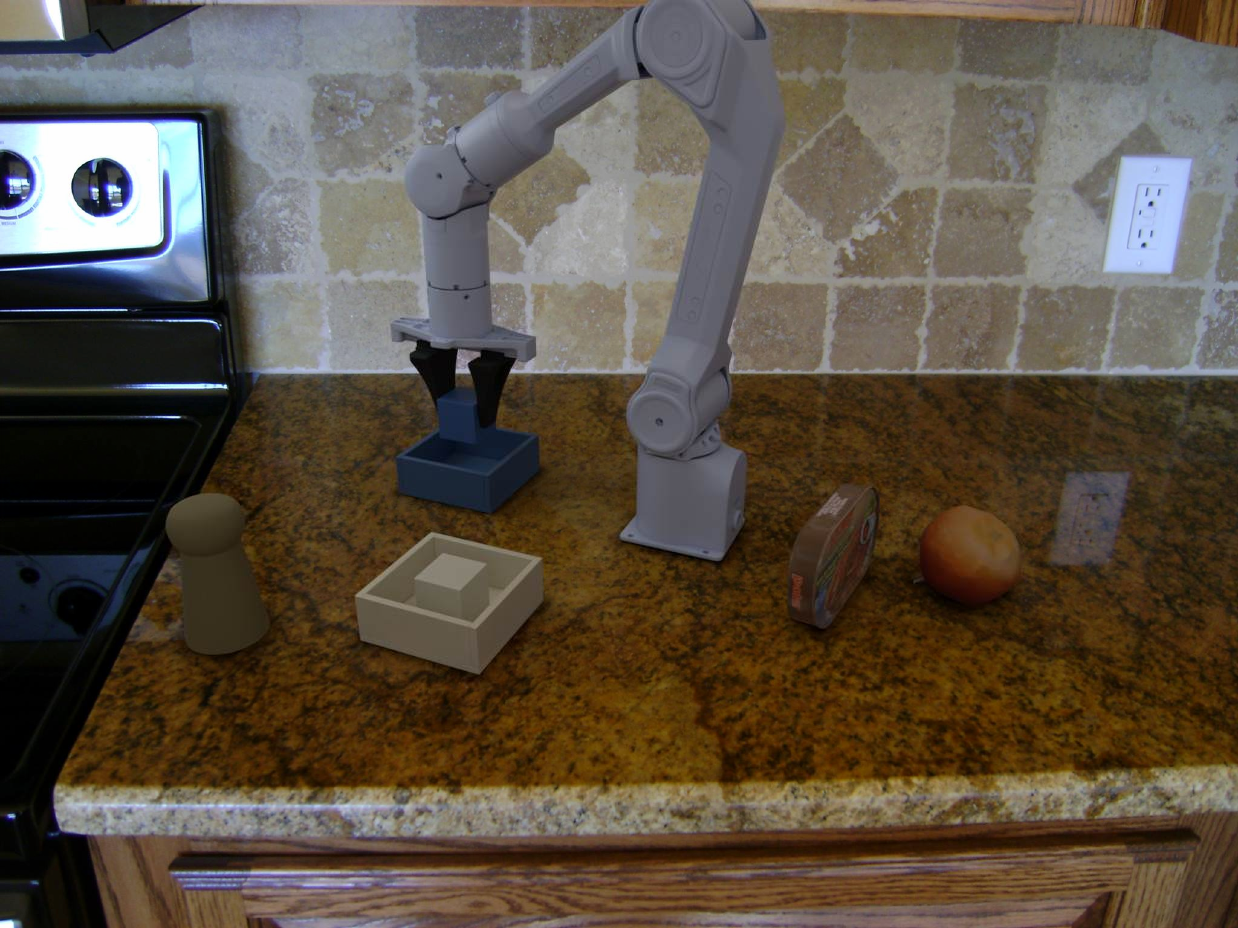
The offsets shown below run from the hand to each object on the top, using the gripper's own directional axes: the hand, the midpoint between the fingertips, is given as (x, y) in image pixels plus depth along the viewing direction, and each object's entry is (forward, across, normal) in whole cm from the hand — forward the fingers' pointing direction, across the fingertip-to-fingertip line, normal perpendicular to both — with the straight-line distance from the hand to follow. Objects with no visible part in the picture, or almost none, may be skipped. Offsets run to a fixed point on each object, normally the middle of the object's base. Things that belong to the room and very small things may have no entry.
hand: (467, 420), depth 90 cm
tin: (+7, +37, -6) cm, 38 cm away
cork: (+7, -4, -29) cm, 30 cm away
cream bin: (+7, +11, -21) cm, 25 cm away
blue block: (+1, 0, 0) cm, 1 cm away
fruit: (+7, +47, -1) cm, 47 cm away
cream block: (+6, +11, -21) cm, 25 cm away
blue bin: (+7, 0, 0) cm, 7 cm away
